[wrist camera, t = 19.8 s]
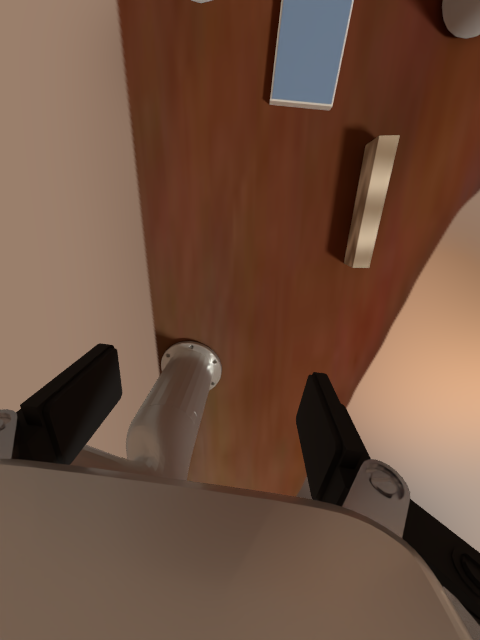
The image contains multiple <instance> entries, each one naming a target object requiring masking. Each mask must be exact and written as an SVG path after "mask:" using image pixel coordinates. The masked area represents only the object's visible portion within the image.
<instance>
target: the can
mask: <svg viewBox="0 0 480 640" xmlns="http://www.w3.org/2000/svg"><path fill="white" fill-rule="evenodd" d="M442 12H443V20H444V22H445V24H446V27H447V29H448V30H449V31H450V32H451V33H452V34H453V35H455V36H456V37H460V38H471V37H475V36H478V35H480V0H443V2H442Z"/></svg>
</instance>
